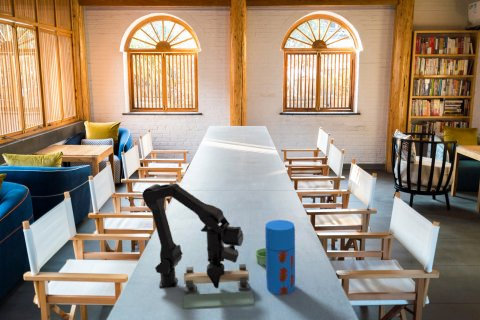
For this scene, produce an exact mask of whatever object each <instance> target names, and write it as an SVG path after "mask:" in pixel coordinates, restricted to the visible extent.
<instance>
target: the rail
mask: <svg viewBox="0 0 480 320" xmlns="http://www.w3.org/2000/svg"><path fill="white" fill-rule="evenodd" d="M246 277H247V282H249V281H250V275H249V269H246V270H239V269H238V270H224V275H222V276H221V277H220V281H219V283H231V282H232V283H234V282H237V283H238V282H240V278H246ZM189 280H193V284H196V285H197V284H198V285H199V284H213V283H212V281H211V279H210V278H209V276H208V275H207V271H200V272H199V271H198V272H194V273H186V272H184V273H183V284H184V285H186V281H189Z"/></svg>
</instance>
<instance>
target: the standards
mask: <svg viewBox="0 0 480 320" xmlns="http://www.w3.org/2000/svg"><path fill="white" fill-rule="evenodd" d="M238 265H239V266H238V268H239V269H238V270H247V265H246V264H245V263H241V264H240V263H239V264H238ZM185 271H186V272H185V273H195V272H194V266H187V267H186V269H185ZM237 289H238V291H249V290H250V285H249V281H247V277H246V278H240V281H237ZM196 291H197V284H193V280H189V281H186V284H185V288H184V294H197V293H196Z"/></svg>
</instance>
